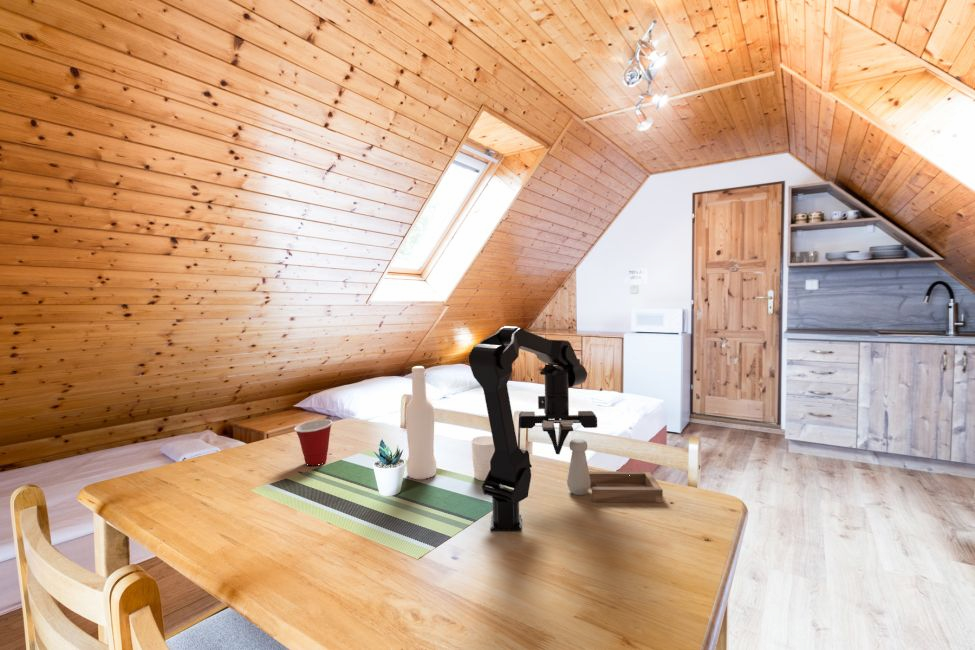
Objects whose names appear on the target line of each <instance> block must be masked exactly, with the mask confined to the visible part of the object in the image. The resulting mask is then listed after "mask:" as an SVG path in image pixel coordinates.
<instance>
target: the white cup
mask: <svg viewBox="0 0 975 650" xmlns="http://www.w3.org/2000/svg"><path fill="white" fill-rule="evenodd" d="M494 451H495V448H494V443H493V438H492V435H484V436H483V435H481V436H477V437H474V438H472V439H471V454H472V455H471V456H472V465H473V473H474V474H473V475H474V478H475V479H476V480H478V481H481V482H484V481H485V479H486V477H487V475H488V473H489V471H490V460H491V458H492V456H493V453H494Z"/></svg>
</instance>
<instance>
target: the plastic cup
mask: <svg viewBox="0 0 975 650" xmlns="http://www.w3.org/2000/svg"><path fill="white" fill-rule="evenodd" d="M332 425H333V421H332V419H331V420H330V419H316V420H310V421H306V422H302V423H300V424H298V425H296V426H295V427H294V429H293V430H294V431H295V432H296V435H297V438H298V441H299V444H300V446H301V451H302V455H303V459H304V463H305V465H306V464H308V465H318V464H322V463H324V464H326V463H325V462H327V459H328V452H329V445H330V435H331V434H330V433H331V428H332ZM322 465H323V464H322Z"/></svg>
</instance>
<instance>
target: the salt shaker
mask: <svg viewBox="0 0 975 650" xmlns="http://www.w3.org/2000/svg"><path fill="white" fill-rule="evenodd" d="M569 449H570V451H571V457H570V462H569V468H568V471H567V472H568V473H567V479H566V485H567V487H568V489H569V492H570V494H572V493H573V495H575V496H585V495H586V494H588V493H589V490H590V489H591V488H590V487H591V486H592V485H591V481H590V475H589V472H590V471H589V466H588V461H587V456H586V451H587V450H588V443H587V441H586V440H584V439H582V438H575V439H574V438H573V439H571V440H570V441H569ZM587 492H588V493H587ZM584 494H585V495H584Z"/></svg>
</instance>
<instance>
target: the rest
mask: <svg viewBox="0 0 975 650" xmlns="http://www.w3.org/2000/svg"><path fill="white" fill-rule="evenodd" d="M589 475H590V481H591V486H592V487H591V500H592V503H663V498H664V496H663V488H662V487H661V486H660V484H659V483H658V481H657V479H656V478H655V477H654V475H653V474H652V473H651V472H650V471H589ZM629 475H630V476H629Z"/></svg>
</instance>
